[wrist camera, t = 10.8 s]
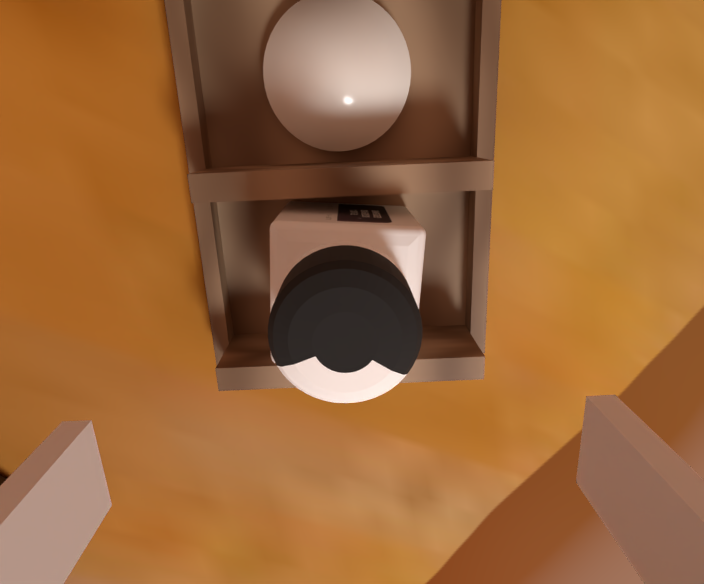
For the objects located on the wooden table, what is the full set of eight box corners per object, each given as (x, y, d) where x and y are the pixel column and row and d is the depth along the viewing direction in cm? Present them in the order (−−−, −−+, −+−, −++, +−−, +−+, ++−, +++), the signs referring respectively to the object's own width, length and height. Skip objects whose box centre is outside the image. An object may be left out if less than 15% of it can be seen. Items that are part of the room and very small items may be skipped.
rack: (225, 349, 35) (202, 391, 29) (172, -38, 28) (127, -82, 22) (475, 338, 35) (500, 378, 29) (490, -52, 28) (528, -100, 22)
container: (286, 200, 31) (247, 246, 18) (408, 205, 31) (450, 254, 19) (286, 314, 33) (251, 422, 21) (399, 318, 33) (431, 428, 21)
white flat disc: (271, 152, 30) (269, 153, 29) (259, -3, 27) (256, -8, 26) (408, 148, 30) (410, 149, 29) (409, -8, 27) (411, -13, 26)
